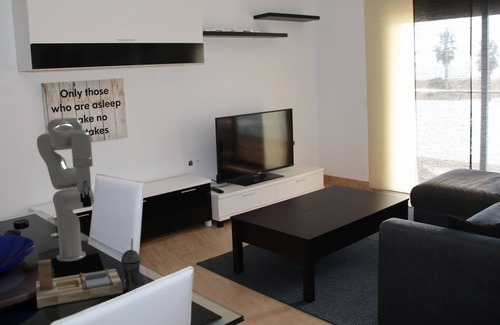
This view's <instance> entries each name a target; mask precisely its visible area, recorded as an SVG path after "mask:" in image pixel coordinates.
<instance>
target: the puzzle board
mask: <svg viewBox="0 0 500 325" xmlns="http://www.w3.org/2000/svg"><path fill="white" fill-rule="evenodd" d="M104 271H106V272H107V275H108V278H109V280H110V285H105V286H99V287H93V288H87V287H86V283H85V275H86V274H92V273H98V272H104ZM52 280H53V289H48V290H42V291H40V283H39V280H37V281H35V284H36V286H35V287H36V303H37V304H36V305H37V309H41V308H43V307H48V306H55V305H61V304H66V303H71V302H77V301H83V300H88V299H93V298H100V297H105V296H106V297H107V296H110V295H111V296H112V295H116V294H122V293H123V292H124V288H123V283H122V280H121V278H120V276H119V273H118V272H117V269H116V268H113V269H108V268H105V269H104V270H99V271H92V272H87V273H83V272H80V273H79V274H75V275H67V276H62V277H55V278H52Z"/></svg>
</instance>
